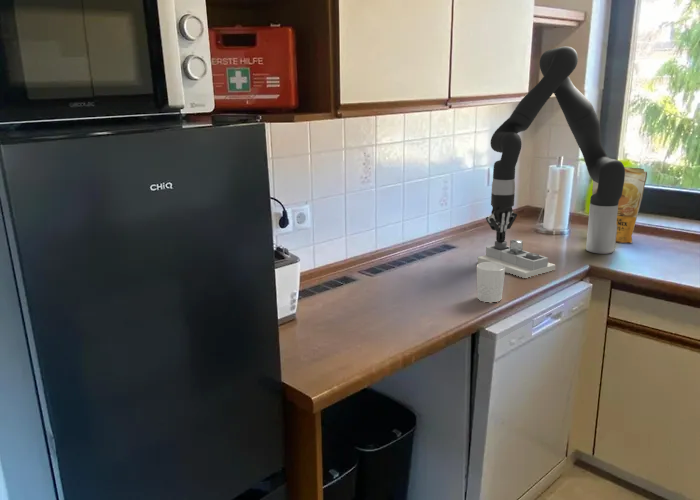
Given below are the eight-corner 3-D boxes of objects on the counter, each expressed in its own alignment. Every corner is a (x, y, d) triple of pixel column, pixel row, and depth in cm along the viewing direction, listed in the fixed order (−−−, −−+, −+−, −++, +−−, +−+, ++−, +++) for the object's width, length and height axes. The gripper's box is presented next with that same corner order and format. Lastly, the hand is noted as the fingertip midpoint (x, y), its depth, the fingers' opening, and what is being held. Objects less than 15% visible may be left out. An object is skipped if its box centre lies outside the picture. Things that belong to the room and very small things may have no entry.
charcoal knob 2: (531, 262, 189) (532, 252, 188) (541, 265, 186) (541, 255, 185) (523, 264, 187) (523, 254, 186) (532, 267, 184) (533, 257, 183)
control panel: (506, 255, 205) (507, 242, 204) (555, 270, 188) (556, 255, 187) (477, 262, 198) (478, 248, 197) (525, 278, 181) (526, 263, 180)
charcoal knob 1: (500, 249, 201) (500, 239, 200) (508, 252, 197) (509, 242, 196) (491, 251, 199) (492, 241, 198) (500, 254, 195) (500, 244, 194)
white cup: (498, 306, 160) (500, 272, 157) (471, 301, 164) (472, 268, 161) (507, 297, 166) (508, 264, 164) (480, 292, 170) (482, 260, 168)
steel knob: (515, 248, 194) (516, 238, 193) (524, 251, 191) (525, 241, 190) (507, 250, 192) (507, 240, 191) (516, 253, 189) (517, 243, 188)
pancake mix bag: (590, 233, 231) (597, 163, 224) (640, 241, 218) (648, 167, 210) (583, 236, 227) (589, 165, 219) (633, 245, 214) (641, 170, 206)
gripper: (508, 188, 199) (505, 236, 203) (480, 192, 192) (478, 242, 197) (525, 191, 192) (522, 241, 197) (497, 196, 186) (494, 247, 191)
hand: (500, 241), depth 197 cm, fingers closed
